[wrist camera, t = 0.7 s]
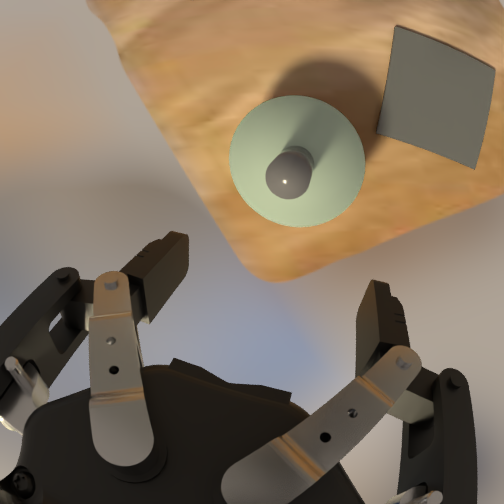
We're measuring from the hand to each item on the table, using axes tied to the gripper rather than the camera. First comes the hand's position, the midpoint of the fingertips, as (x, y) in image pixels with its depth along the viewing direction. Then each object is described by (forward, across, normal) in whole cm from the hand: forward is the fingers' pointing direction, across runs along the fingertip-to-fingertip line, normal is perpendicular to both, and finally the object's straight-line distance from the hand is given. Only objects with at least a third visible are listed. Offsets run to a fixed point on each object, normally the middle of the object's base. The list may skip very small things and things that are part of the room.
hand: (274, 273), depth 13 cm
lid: (+16, +1, -1) cm, 16 cm away
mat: (+21, -12, -11) cm, 26 cm away
